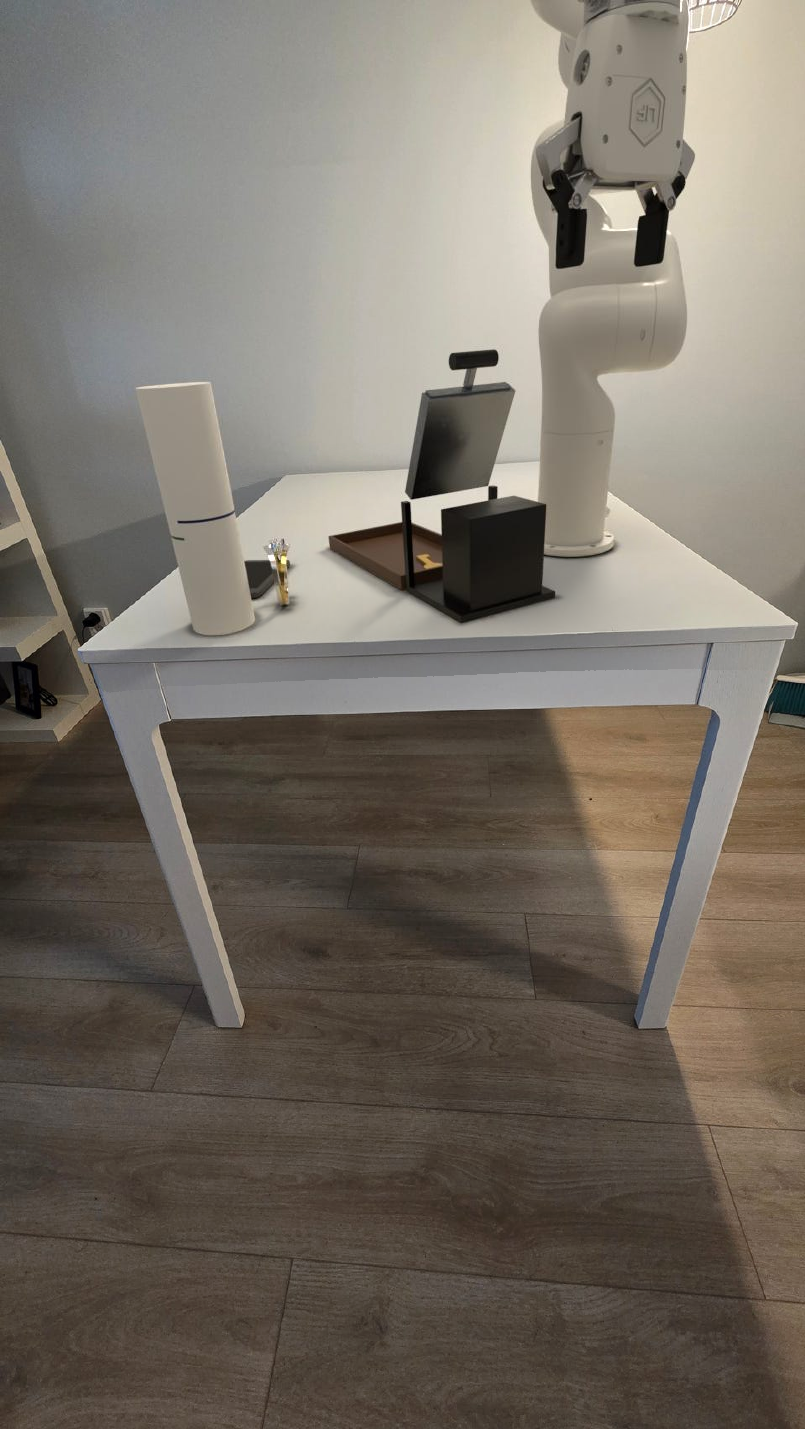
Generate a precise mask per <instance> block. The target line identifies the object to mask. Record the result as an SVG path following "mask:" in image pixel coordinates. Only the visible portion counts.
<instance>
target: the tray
mask: <svg viewBox="0 0 805 1429" xmlns="http://www.w3.org/2000/svg"><path fill="white" fill-rule="evenodd" d="M327 537H328V544H329V549H330V550H332V551H334V552H335V553H337V554H339V555H340V556H342V557H344V558H346V559H347V560H349V561H351V562H352V563H354V564H356V565H358V566H359V567H361V568H362V569H365V571H368V572H370V573H371V574H372V575H374V576H376V577H378V578H380V579H381V580H383V581H385V582H386V583H388V584H390V585H392V586H393V587H395V588H396V589H398V590H400V591H404V590H405V591H406V580H405V563H404V546H403V529H402V521H399V522H394V523H388V524H384V525H379V526H374V527H368V528H363V529H357V530H353V531H348V532H342V533H338V534H333V535H328V536H327ZM412 541H413V560H414V579H415V584H416V583H420V582H424V581H428V580H433V579H437V578H441V577H443V566H442V565H441V566H436V567H432V568H427V569H424V564H423V563H422V562H420V561H419V560H418V559H416V556H419V555H425V554H428V555H429V556H430V559H429V560H430V561H432V562H433V563H441V564H442V533H439V532H437V531H434V530H431V529H429V528H427V527H424V526H422V525H420V524H417V523H414V522H412Z"/></svg>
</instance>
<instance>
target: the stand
mask: <svg viewBox="0 0 805 1429" xmlns="http://www.w3.org/2000/svg"><path fill="white" fill-rule="evenodd" d="M498 488H499V486H497V485H493V484H492V485H488V486H487V489H488V490H487V500H484V501H478V502H473V503H467V504H462V505H457V506H452V507H446V508H441V509H440V525H441V526H440V528H441V535H442V566H443V577H441V578H437V579H433V580H428V581H424V582H420V583H416V584H415V579H414V560H413V541H412V523H413V522H412V521H413V520H412V505H411V501H408V500H404V501H400V510H401V522H402V529H403V546H404V563H405V580H406V589H405V591H406V592H408V593H409V594H411V595H413V596H414V597H416V598H418V599H420V600H421V601H422V602H425V603H427V604H428V605H430V606H432V607H433V608H435V609H437V610H439V611H440V612H442V613H443V614H445V615H447V616H449V617H450V618H452V619H454V620H456V621H458V622H459V623H461V624H462V623H466V622H469V621H473V620H477V619H480V618H485V617H488V616H491V615H495V614H498V613H503V612H506V611H511V610H514V609H517V608H521V607H524V606H529V605H532V604H535V603H539V602H543V601H547V600H551V599H554V598H556V590H554V589H551V588H549V587H546V586H544V585H543V579H544V561H545V560H544V558H545V554H544V543H545V524H546V504H544V503H540V502H538V501H536V500H532V499H529V498H524V497H522V496H521V497H520V496H517V495H509V496H505V497H499V498H498V494H499V492H498V490H499V489H498Z"/></svg>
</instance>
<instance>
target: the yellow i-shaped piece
mask: <svg viewBox="0 0 805 1429" xmlns="http://www.w3.org/2000/svg"><path fill="white" fill-rule="evenodd" d="M416 559H418V560H419V561H420V562H422V563H423V564H424V569H427V568H432V567H436V566H441V565H442V564H441V563H433V562H432V561H430V560H429V559H430V556H429V555H428V554H425V555H419V556H416Z"/></svg>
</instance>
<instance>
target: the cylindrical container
mask: <svg viewBox="0 0 805 1429" xmlns="http://www.w3.org/2000/svg"><path fill="white" fill-rule="evenodd" d="M135 394H136V397H137V401H138V406H139V409H140V410H139V411H140V414H141V419H142V422H143V426H144V430H145V431H144V432H145V434H146V439H147V443H148V447H149V451H150V455H151V459H152V463H153V468H154V471H155V477H156V480H157V484H158V488H159V492H160V496H161V502H162V504H163V509H164V514H165V517H166V521H167V526H168V529H169V533H170V538H171V542H172V546H173V551H174V555H175V559H176V562H177V568H178V572H179V576H180V579H181V584H182V588H183V591H184V596H185V600H186V604H187V609H188V613H189V617H190V621H191V625H192V630H193V631H194V632H195V633H197V634H198V635H203V636H224V635H230V634H235V633H238V632H240V631H243V630H246V629H248V628H249V627H251V626H252V625H253V624H255V621H256V617H255V612H254V606H253V601H252V598H251V595H250V590H249V584H248V579H247V573H246V568H245V563H244V561H245V558H244V553H243V547H242V543H241V537H240V531H239V526H238V521H237V515H236V511H235V505H234V500H233V499H234V498H233V494H232V488H231V483H230V478H229V473H228V466H227V461H226V456H225V451H224V446H223V439H222V435H221V430H220V429H221V428H220V424H219V419H218V413H217V409H216V404H215V398H214V393H213V388H212V382H211V381H193V382H192V381H191V382H179V383H178V382H176V383H166V384H155V385H145V386H139V387H135Z"/></svg>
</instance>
